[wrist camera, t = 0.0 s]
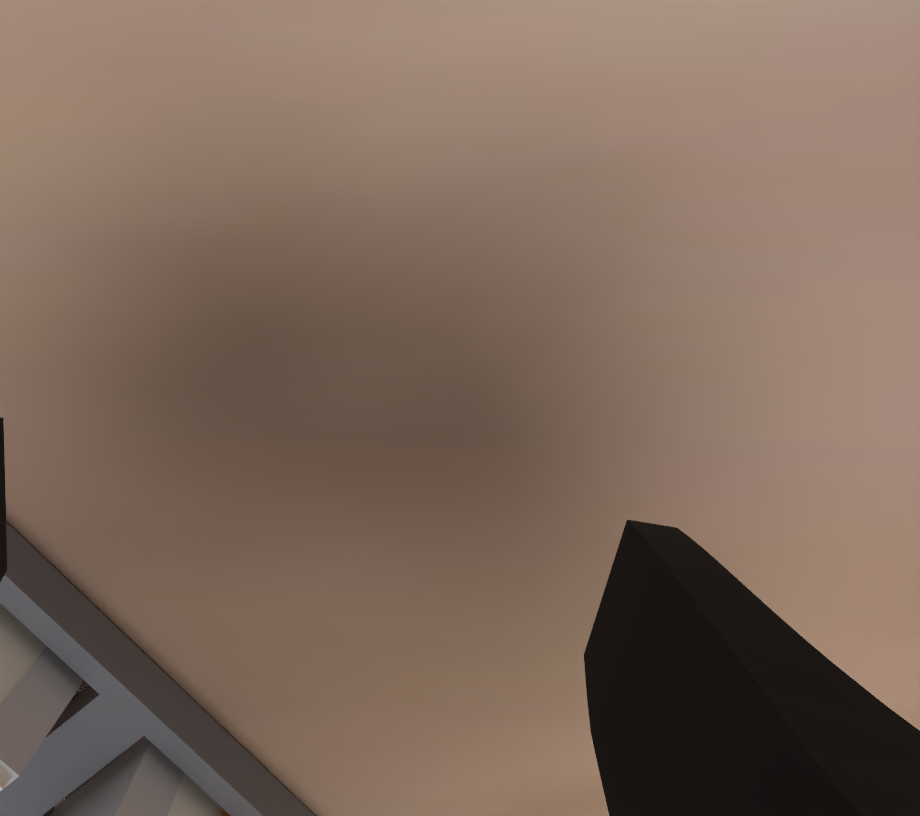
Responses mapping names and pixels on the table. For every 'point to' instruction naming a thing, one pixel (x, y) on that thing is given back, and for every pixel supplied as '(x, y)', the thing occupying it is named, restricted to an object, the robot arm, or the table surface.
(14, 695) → the block
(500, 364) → the table surface
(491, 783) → the table surface
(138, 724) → the fuse holder
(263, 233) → the table surface
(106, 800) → the white and orange block
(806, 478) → the table surface
